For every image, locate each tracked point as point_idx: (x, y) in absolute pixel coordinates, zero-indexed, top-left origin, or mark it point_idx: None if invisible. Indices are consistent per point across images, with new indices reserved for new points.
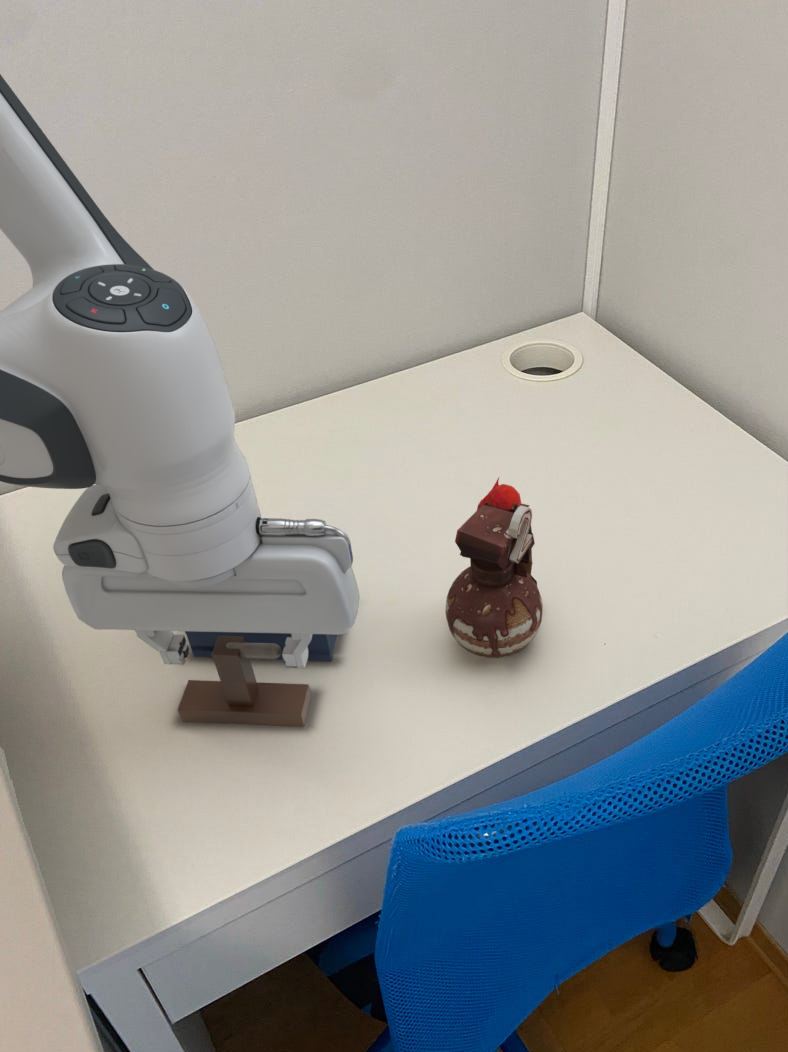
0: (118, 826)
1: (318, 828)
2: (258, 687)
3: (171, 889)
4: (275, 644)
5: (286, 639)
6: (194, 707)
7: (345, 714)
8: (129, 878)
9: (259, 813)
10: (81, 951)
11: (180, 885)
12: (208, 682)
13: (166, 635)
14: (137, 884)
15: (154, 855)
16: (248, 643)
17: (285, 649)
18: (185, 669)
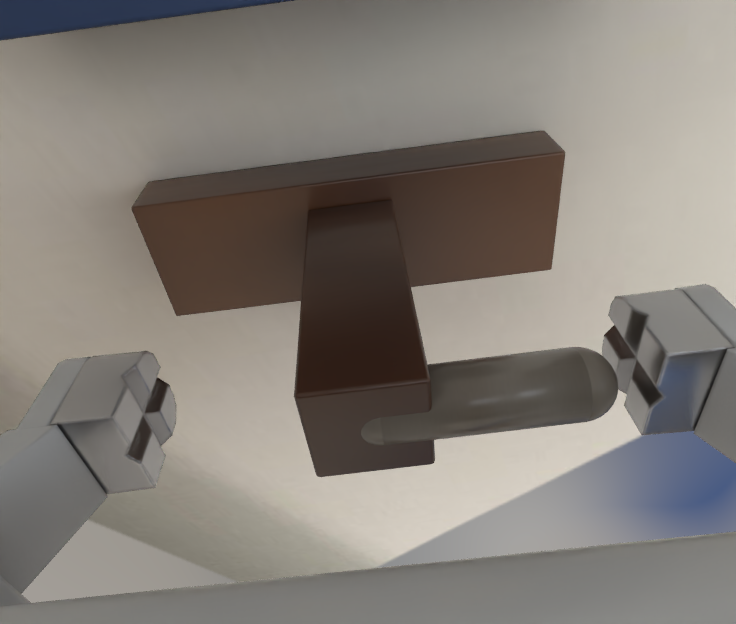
0: (220, 491)
1: (588, 439)
2: (390, 196)
3: (366, 539)
4: (604, 392)
5: (666, 369)
6: (222, 302)
7: (654, 180)
8: (294, 539)
9: (471, 435)
10: None
11: (377, 534)
12: (207, 205)
13: (45, 479)
14: (311, 542)
15: (313, 512)
16: (470, 416)
17: (659, 414)
18: (49, 83)
